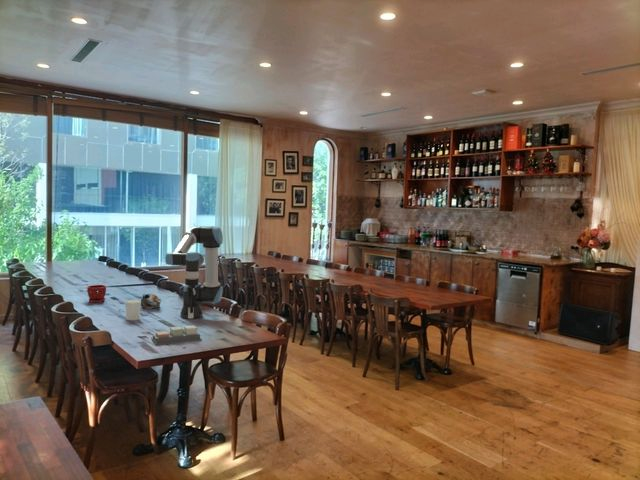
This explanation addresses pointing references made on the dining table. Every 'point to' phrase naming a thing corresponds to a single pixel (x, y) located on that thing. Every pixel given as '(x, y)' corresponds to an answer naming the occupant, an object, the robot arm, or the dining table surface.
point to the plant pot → (96, 293)
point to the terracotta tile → (162, 334)
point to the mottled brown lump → (150, 301)
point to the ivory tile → (190, 330)
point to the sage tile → (176, 331)
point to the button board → (175, 339)
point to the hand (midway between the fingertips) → (190, 317)
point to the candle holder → (133, 309)
